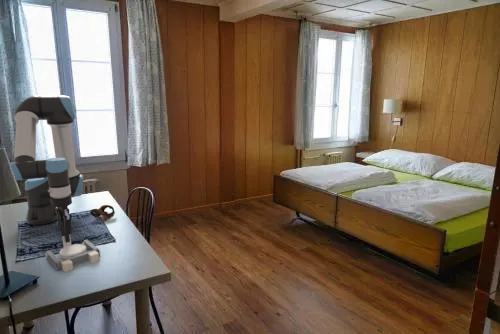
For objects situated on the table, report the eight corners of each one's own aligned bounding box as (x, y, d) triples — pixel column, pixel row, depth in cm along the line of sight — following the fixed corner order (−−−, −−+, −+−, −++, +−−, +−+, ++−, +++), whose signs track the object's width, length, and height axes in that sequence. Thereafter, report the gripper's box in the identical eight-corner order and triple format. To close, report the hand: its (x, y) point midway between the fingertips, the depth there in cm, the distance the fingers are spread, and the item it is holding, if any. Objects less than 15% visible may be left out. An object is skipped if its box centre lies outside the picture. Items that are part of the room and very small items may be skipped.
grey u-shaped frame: (45, 256, 139) (44, 250, 139) (86, 244, 150) (85, 238, 150) (60, 273, 127) (59, 266, 126) (103, 258, 138) (102, 252, 137)
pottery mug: (112, 214, 187) (115, 203, 183) (112, 227, 181) (116, 216, 176) (88, 212, 181) (91, 201, 177) (88, 225, 175) (91, 214, 170)
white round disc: (58, 255, 141) (57, 248, 140) (83, 248, 147) (82, 241, 146) (62, 265, 133) (61, 257, 132) (89, 257, 139) (88, 249, 138)
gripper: (45, 194, 140) (53, 246, 145) (55, 201, 131) (63, 256, 136) (65, 190, 145) (71, 240, 150) (76, 197, 136) (82, 250, 141)
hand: (67, 248), depth 143 cm, fingers closed
